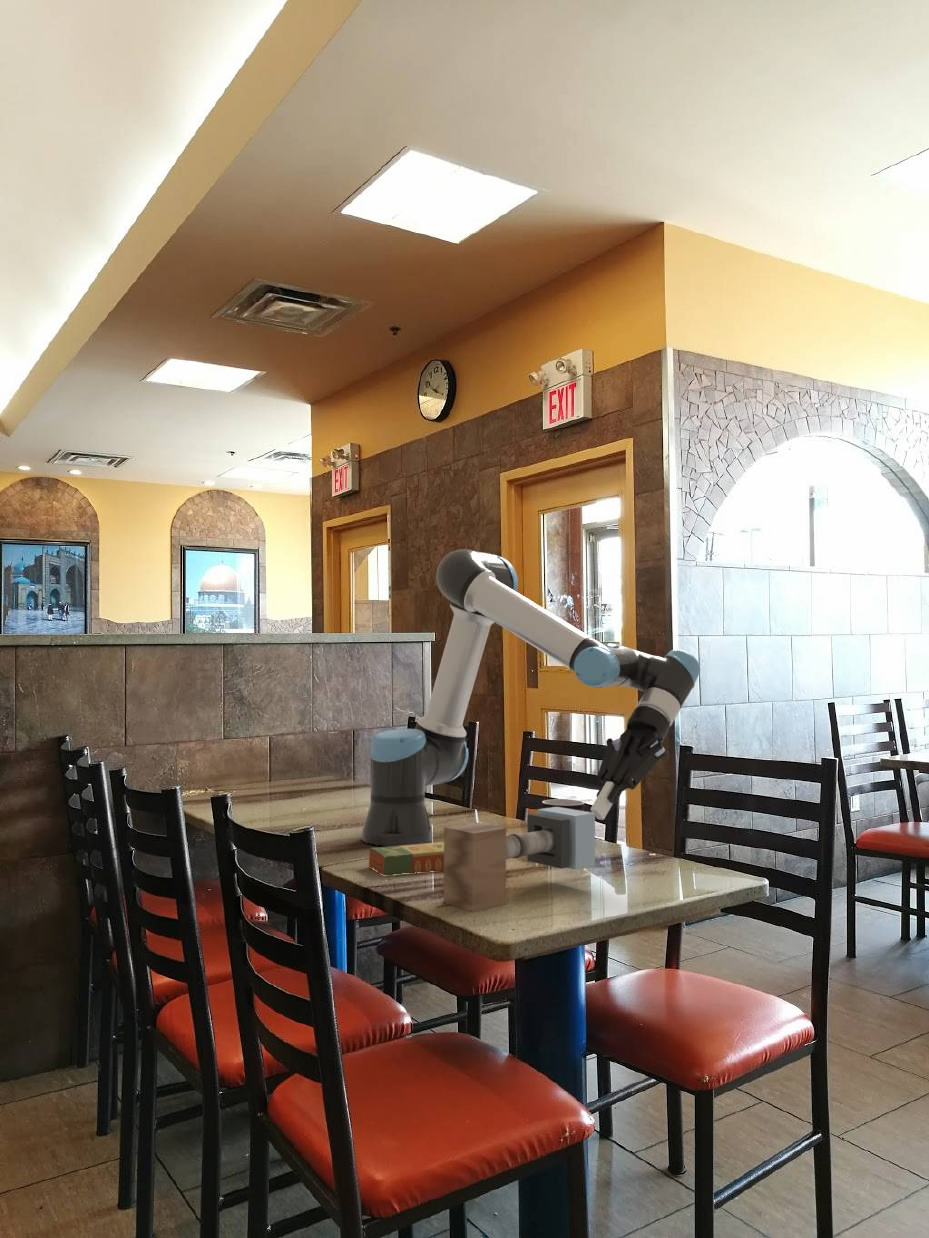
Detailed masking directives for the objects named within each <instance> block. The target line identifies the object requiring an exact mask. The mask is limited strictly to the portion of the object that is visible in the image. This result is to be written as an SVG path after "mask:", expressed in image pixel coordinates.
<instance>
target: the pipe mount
mask: <svg viewBox="0 0 929 1238" xmlns="http://www.w3.org/2000/svg"><path fill="white" fill-rule="evenodd" d="M443 831H444V832H443V836H444V837H443V842H444V871H443V903H444V904H447V905H449V906H453V907H456V908H460V909H463V910H465V911H466V910H467V911H469V912H473V913H474V912H477V911H478V912H479V911H482V910H486V909H491V908H495V907H499V906H503V905H507V904H506V903H507V902H506V901H507V900H506V898H507V897H506V894H507V893H506V891H507V890H506V889H507V883H506V881H507V860H508V859H518V858H519V859H520V858H521V857H523V856H527V855H530V854H536V853H541V852H547V851H552V850H554V829H547V830H541V831H535V832H529V833H527V832H523V833H511V834H508V835H507V828H506V827H502V826H497V825H496V826H495V825H493V824H492V825H491V824H485V823H481V822H470V823H464V824H458V825H457V824H456V825H450V826H444V828H443Z"/></svg>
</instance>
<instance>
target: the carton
mask: <svg viewBox="0 0 929 1238" xmlns="http://www.w3.org/2000/svg"><path fill="white" fill-rule="evenodd" d="M368 859H369V860H368V868H369V867H371V868H374V869H375V870H377V871H378V872H379V873H381V874H383V875H393V874H402V873H415V872H416V873H417V872H430V871H441V872H444V841H438V842H437V841H435V842H429V843H424V844H412V845H401V846H380V847H379V846H378V847H371V848H370V849H369V857H368ZM379 873H378V874H379ZM430 873H431V872H430Z"/></svg>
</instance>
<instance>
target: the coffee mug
mask: <svg viewBox="0 0 929 1238" xmlns="http://www.w3.org/2000/svg"><path fill="white" fill-rule="evenodd" d="M541 804H542V809H545V808H552V807H561V808H567V809H573V810H580V811H585V801H582V800H578V799H567V798H566V799H565V798H564V799H562V798H561V799H560V798H554V799H546V800H545V799H544V800H542V803H541Z"/></svg>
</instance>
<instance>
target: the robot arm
mask: <svg viewBox="0 0 929 1238" xmlns="http://www.w3.org/2000/svg"><path fill="white" fill-rule="evenodd" d="M435 574H436V575H435V577H436V579H435V580H436V583H437V584H436V585H437V587H438V589H439V591H440V592H441V594H442V595H443V596H444V597H445V598H446V599H447V600H449V601H450V604H449V607H450V609H451V610H452V612H453V617H452V621H451V625H450V629H449V632H448V634H447V639H446V642H445V646H444V649H443V652H442V653H443V654H442V656H441V661H440V663H439V668H438V671H437V675H436V679H435V681H434V685H433V689H432V692H431V696H430V699H429V703H428V707H427V710H426V712H425V713H426V714H425V715H423V716H422V717H420V718H418V719H417V721H416V725H415V728H398V729H391V730H385V731H382V732H378V733H377V734H375V735H374V736H373V738H372V739H371V747H370V748H371V749H370V752H369V756H370V805H369V808H368V811H367V814H366V817H365V821H364V825H363V827H362V829H361V841H362V840H363V841H364V842H367V843H370V844H369V845H371V844H375V845H374V846H378V845H382V846H381V847H389V846H401V845H412V844H424V843H432V841H433V828H432V825H431V822H430V818H429V815H428V811H427V808H426V804H425V802H426V801H425V798H426V797H425V793H426V792H425V790H426V788H425V787H428V786H434V785H444V784H446V783H448V782H450V781H453V780H455V779H456V778H458V777H460V776H461V775H462V773H463V772H464V771H465V769H466V767H467V766H468V765H467V764H468V762H469V748H468V747H467V742H466V739H467V738H466V737H467V731H466V729H465V728H464V720H465V717H466V713H467V710H468V707H469V702H470V699H471V695H472V693H473V688H474V686H475V681H476V678H477V674H478V671H479V667H480V663H481V660H482V657H483V654H484V650H485V646H486V643H487V641H488V640H487V639H488V637H489V633H490V630H491V626H492V625H493V624H497V625H498V626H499V627H500V626H501V627H502V628H503V629H505V630H506V631H508V632H510V633H511V634H513V635H514V636H516V637H518V638H519V639H520V640H523V641H524V642H526V643H528V644H529V645H531V646H532V647H534V648H536V649H537V650H538V651H540V652H542V653H543V654H545V655H547V656H548V657H550V658H552V659H553V660H555V661H556V662H558V663H559V664H561V666H564V667H565V668H567V669H569V670H570V671H572V672H574V673H575V676H576V677H577V679H578V680H579V681H580V683H581V684H583V685H586V686H587V687H591V688H596V689H603V688H606V687H607V688H608V687H628V688H631V689H632V688H633V689H635V690H639V691H641V692H644V693H643V695H642V696H641V698H640V700H639V701H638V702H637V704H636V707H635V708H634V710H633V711H632V713H631V715H630V716H629V717H628V720H627V721H626V722H627V723H626V729H625V731H624V732H623V733H621V735H620V737H619V738H617V739H614V740H613V738H612V737H611V738H607V739H606V741H605V742H606V749H605V751H604V755H603V758H602V761H601V764H600V767H599V769H598V773H597V779H599V781H600V783H602V784H601V786H600V788H599V790H598V791H597V793H596V799H595V801H594V802H593V804H592V806H591V808H590V812H592V813H595V819H597V820H600V821H603V820H604V821H605V819H606V816H607V815H608V813H609V812H610V810H611V808H612V806H613V804H616V803H617V802H618V800H619V799H620V796H621V795H622V793H623V792H624V791H626V790H627V789H629V790H632V791H633V790H634V789H636V787H637V786H638V785H639V784H640V783H641V781H642V780H643V779H644V777H645V776H647V774H648V773H649V772H650V771H651V769H652V768H653V767H654V766H655V765H656V763H657V762H658V761H659V760H661V759H662V758H664V757H666V755H667V754H668V752H667V750H666V749H665V748H664V746H663V744H662V743H663V742H664V739H665V738H666V736H667V735H668V733H669V731H670V728H671V726H672V725H673V723H674V722H675V720H676V717H677V716H678V714H679V713H680V711H681V709H682V707H683V705H684V704H685V702H686V700H687V699H688V697H689V695H690V693H691V692H692V690H693V689H694V687H695V684H696V682H697V680H698V678H699V675H700V673H701V666H700V663H699V661H698V659H697V658H696V657H695V656H694V655H693V654H691V653H689V652H688V651H685V650H683V649H676V650H675V649H672V650H670V651H668V653H667V654H665V655H664V657H662V656H658V655H653V654H649V653H646V652H643V651H639V650H637V649H633V648H630V647H627V646H625V645H620V644H615V643H607V644H603V643H601V642H600V641H598V640H597V639H595V638H593V637H592V636H590V635H588V634H587V633H585V632H583V631H581V629H579V628H576V626H573V625H572V624H570V623H568V622H566V621H565V620H564V619H562V618H560V617H559V616H557V615H555V614H554V613H552V612H550V611H548V610H547V609H545V608H544V607H542V606H541V605H539V604H537V603H535V602H534V601H532V600H530V599H529V598H527V597H525V596H524V595H522V594H520V593H519V592H518V587H519V586H518V585H519V581H518V580H519V579H518V574H517V572H516V570H515V568H514V565H512V564H511V563H510V561H508V560H507V559H506V558H504V557H502V556H499V555H496V554H494V553H490V552H482V551H477V550H471V549H464V548H463V549H462V548H461V549H457V550H453V551H451V552H449V553H448V554H446V555H445V556H444V557H443V558H442V559H441V560H440V562H439V564H438V566H437V569H436V573H435ZM363 841H362V842H363ZM364 842H363V843H364ZM367 843H366V844H367Z"/></svg>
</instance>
